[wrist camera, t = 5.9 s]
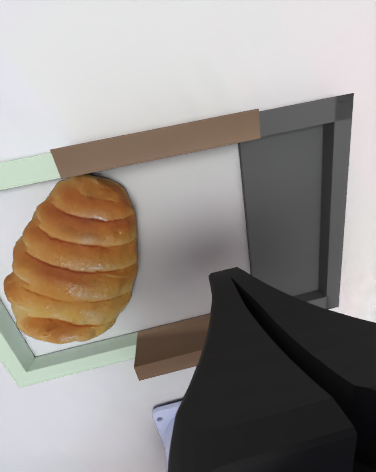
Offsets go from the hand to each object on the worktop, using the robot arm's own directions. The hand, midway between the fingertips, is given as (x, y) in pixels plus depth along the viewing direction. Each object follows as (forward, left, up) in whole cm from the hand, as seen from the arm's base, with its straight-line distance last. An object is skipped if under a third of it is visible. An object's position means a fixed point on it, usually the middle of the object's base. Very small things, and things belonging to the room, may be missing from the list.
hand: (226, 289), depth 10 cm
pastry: (+1, +8, -6) cm, 10 cm away
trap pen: (0, -6, -5) cm, 8 cm away
